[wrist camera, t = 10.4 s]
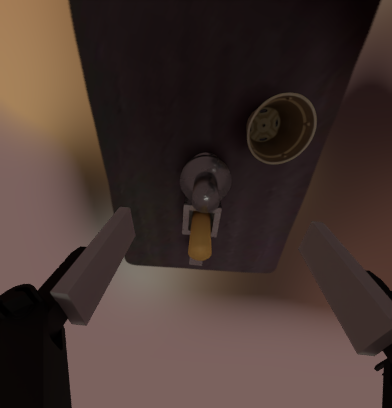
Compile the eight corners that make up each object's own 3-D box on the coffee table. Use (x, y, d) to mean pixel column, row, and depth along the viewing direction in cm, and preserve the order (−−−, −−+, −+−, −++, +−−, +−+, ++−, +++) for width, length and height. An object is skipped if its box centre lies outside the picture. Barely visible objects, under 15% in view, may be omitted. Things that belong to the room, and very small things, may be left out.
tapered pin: (192, 200, 39) (186, 245, 26) (208, 197, 38) (209, 242, 26) (195, 213, 40) (190, 261, 28) (210, 211, 40) (212, 259, 28)
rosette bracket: (213, 245, 48) (215, 294, 36) (180, 242, 48) (171, 290, 36) (230, 148, 35) (244, 174, 23) (185, 144, 35) (174, 167, 22)
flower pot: (279, 81, 29) (305, 74, 21) (297, 132, 33) (325, 141, 25) (228, 116, 32) (235, 121, 24) (250, 159, 36) (262, 175, 28)
